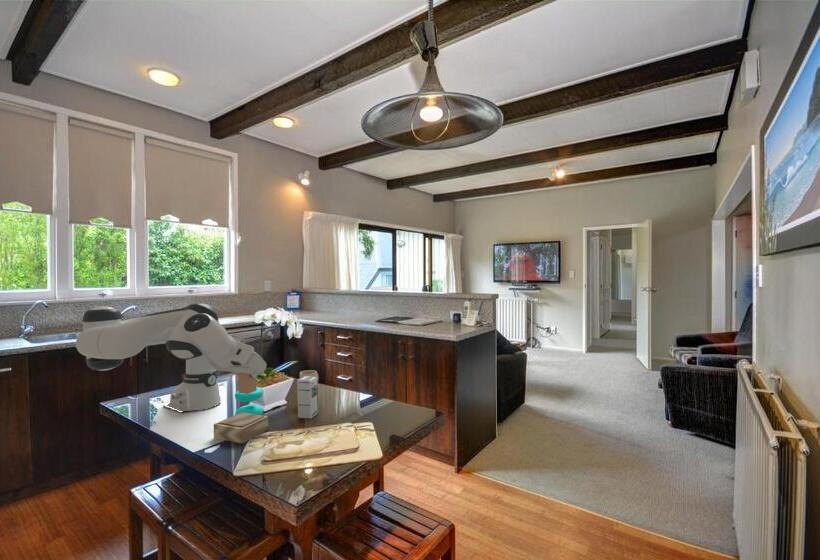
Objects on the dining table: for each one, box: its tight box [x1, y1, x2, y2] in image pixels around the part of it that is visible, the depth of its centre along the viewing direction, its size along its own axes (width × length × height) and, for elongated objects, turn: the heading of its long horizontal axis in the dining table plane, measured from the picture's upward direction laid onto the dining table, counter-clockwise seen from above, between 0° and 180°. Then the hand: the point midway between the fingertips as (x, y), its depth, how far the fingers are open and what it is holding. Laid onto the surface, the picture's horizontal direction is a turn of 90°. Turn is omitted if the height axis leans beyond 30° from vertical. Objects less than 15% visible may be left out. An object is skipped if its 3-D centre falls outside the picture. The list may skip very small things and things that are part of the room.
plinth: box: [213, 412, 269, 444], centre depth 130 cm, size 12×12×5 cm
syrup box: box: [296, 376, 319, 419], centre depth 146 cm, size 6×6×14 cm
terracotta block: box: [237, 373, 257, 394], centre depth 130 cm, size 4×4×9 cm
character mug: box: [297, 369, 319, 382], centre depth 162 cm, size 11×7×13 cm, turn 146°
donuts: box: [234, 387, 264, 415], centre depth 146 cm, size 10×10×10 cm
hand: (248, 376), depth 131 cm, fingers closed on terracotta block, 4 cm apart
